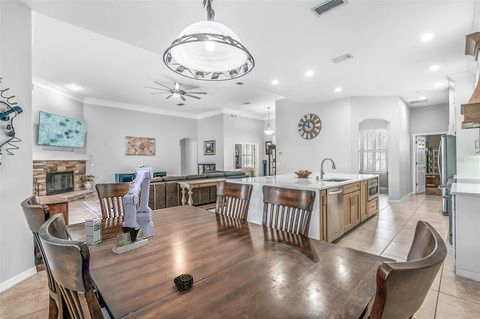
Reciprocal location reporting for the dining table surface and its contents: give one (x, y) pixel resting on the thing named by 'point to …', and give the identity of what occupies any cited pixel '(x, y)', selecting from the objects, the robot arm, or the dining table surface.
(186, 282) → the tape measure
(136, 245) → the bar
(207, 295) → the dining table surface
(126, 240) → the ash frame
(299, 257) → the dining table surface
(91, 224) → the syrup box
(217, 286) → the dining table surface
